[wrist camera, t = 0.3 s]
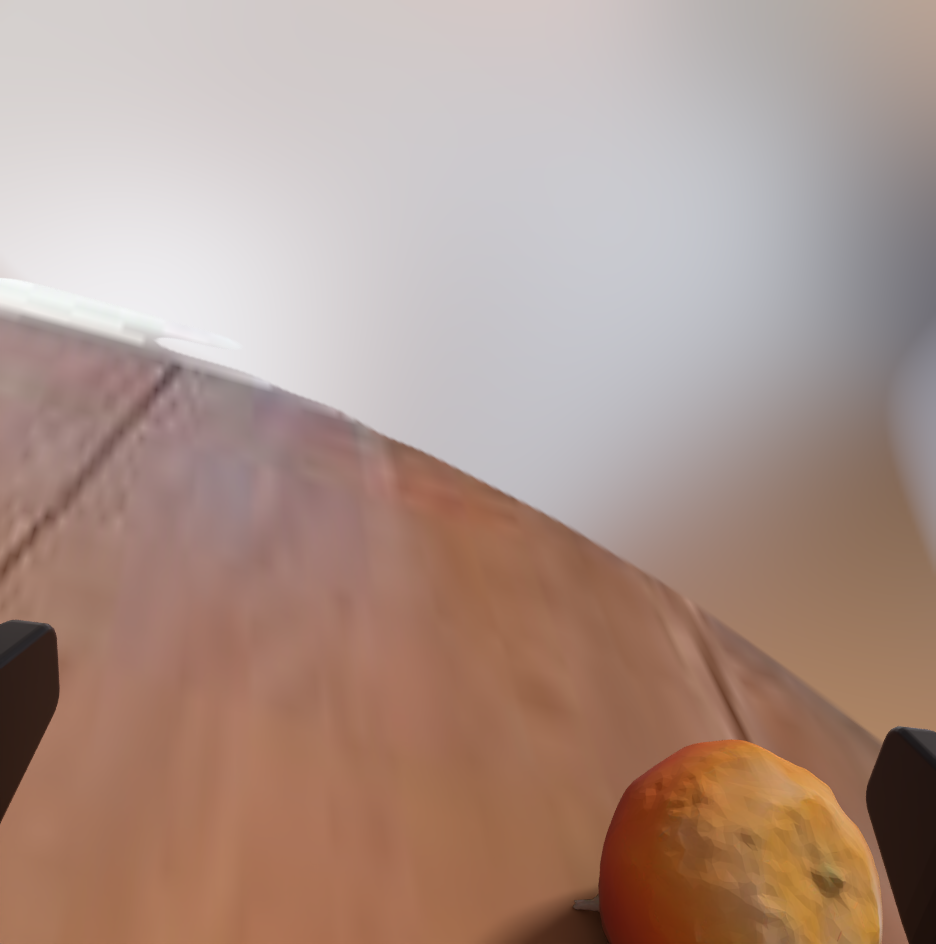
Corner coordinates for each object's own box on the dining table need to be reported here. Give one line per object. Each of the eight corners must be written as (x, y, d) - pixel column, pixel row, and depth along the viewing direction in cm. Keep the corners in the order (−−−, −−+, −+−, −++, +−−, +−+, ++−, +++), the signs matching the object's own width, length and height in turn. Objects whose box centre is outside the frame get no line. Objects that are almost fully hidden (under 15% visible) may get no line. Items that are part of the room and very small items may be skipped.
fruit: (643, 750, 31) (822, 678, 25) (758, 974, 29) (982, 949, 23) (481, 846, 26) (662, 783, 20) (606, 1131, 23) (849, 1148, 18)
